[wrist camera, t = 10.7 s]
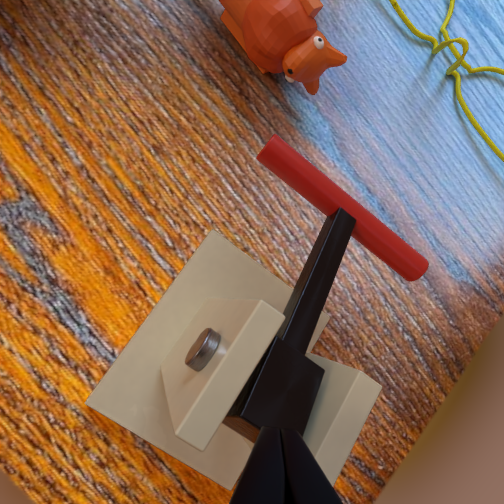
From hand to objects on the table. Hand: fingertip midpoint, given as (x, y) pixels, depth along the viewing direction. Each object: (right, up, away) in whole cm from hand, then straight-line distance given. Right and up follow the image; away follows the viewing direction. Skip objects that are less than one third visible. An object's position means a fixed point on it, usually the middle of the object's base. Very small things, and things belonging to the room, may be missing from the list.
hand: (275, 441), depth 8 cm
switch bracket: (-3, -1, +12) cm, 13 cm away
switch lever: (+1, +2, +7) cm, 8 cm away
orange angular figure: (0, +20, +16) cm, 25 cm away
